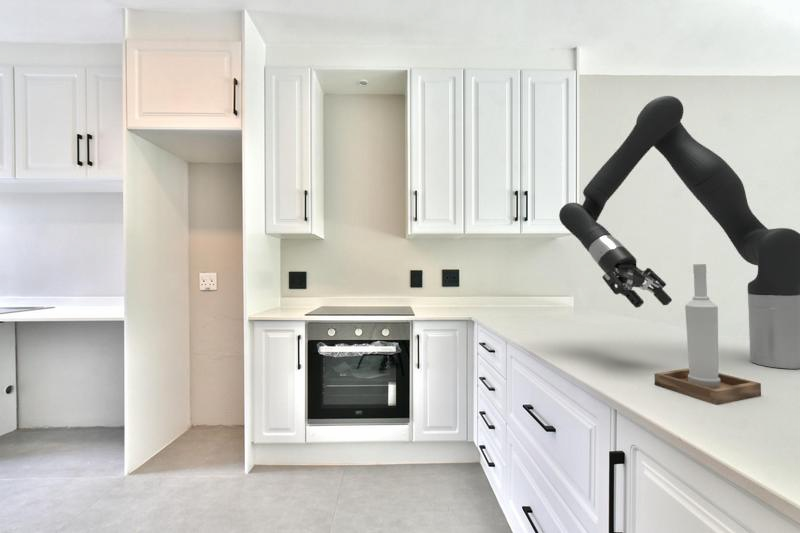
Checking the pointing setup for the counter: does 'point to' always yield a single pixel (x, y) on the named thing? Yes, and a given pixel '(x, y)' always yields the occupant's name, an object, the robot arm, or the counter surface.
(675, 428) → the counter surface
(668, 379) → the walnut tray
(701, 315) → the bottle
